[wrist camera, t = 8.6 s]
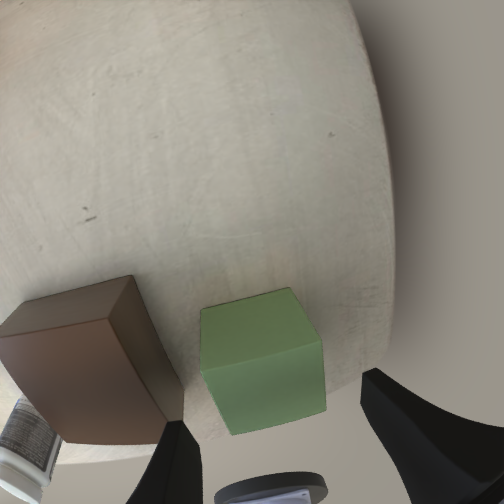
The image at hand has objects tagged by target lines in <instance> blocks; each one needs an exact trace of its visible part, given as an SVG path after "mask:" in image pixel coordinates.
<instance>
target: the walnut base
mask: <svg viewBox="0 0 504 504" xmlns="http://www.w3.org/2000/svg"><path fill="white" fill-rule="evenodd" d="M0 361H1V362H2V364H3V365H4V367H5V368H6V370H7V371H8V373H9V374H10V376H11V377H12V379H13V380H14V381H15V383H16V384H17V385H18V387H19V388H20V390H21V391H22V392H23V394H24V395H25V396H26V397H27V399H28V400H29V401H30V403H31V404H32V405H33V406H34V407H35V409H36V410H37V411H38V412H39V413H40V415H41V416H42V417H43V418H44V419H45V420H46V422H47V423H48V424H49V425H50V426H51V427H52V428H53V429H54V430H55V431H56V432H57V434H58V435H59V436H60V437H61V438H62V439H63V440H64V441H65V442H66V443H76V444H93V445H143V444H158V442H159V440H160V437H161V435H162V432H163V430H164V427H165V425H166V423H167V422H168V421H176V420H182V421H183V411H184V389H183V387H182V385H181V383H180V381H179V379H178V377H177V375H176V373H175V371H174V369H173V367H172V365H171V363H170V361H169V359H168V357H167V355H166V353H165V351H164V349H163V347H162V345H161V343H160V340H159V338H158V336H157V334H156V332H155V329H154V327H153V325H152V323H151V320H150V318H149V316H148V313H147V311H146V309H145V306H144V304H143V301H142V299H141V296H140V294H139V291H138V289H137V286H136V284H135V281H134V278H133V276H132V275H130V276H126V277H122V278H118V279H114V280H110V281H106V282H102V283H98V284H94V285H90V286H86V287H82V288H79V289H75V290H71V291H67V292H63V293H59V294H55V295H52V296H48V297H44V298H40V299H36V300H32V301H28V302H25V303H22V304H21V305H20V306H19V307H18V308H17V309H16V310H15V311H14V312H13V313H12V314H11V315H10V316H9V317H8V318H7V319H6V320H5V321H4V322H3V323H2V324H1V325H0Z"/></svg>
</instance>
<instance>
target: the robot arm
mask: <svg viewBox="0 0 504 504" xmlns="http://www.w3.org/2000/svg"><path fill="white" fill-rule="evenodd" d="M360 404H361V406H362V408H363V410H364V413H365V415H366V417H367V419H368V421H369V423H370V425H371V427H372V428H373V430H374V432H375V433H376V435H377V436H378V438H379V439H380V441H381V442H382V444H383V446H384V447H385V449H386V451H387V452H388V454H389V455H390V457H391V458H392V460H393V462H394V464H395V466H396V467H397V470H398V472H399V474H400V476H401V478H402V480H403V483H404V485H405V488H406V490H407V493H408V495H409V498H410V500H411V503H412V504H504V427H497V426H492V425H486V424H483V423H479V422H475V421H472V420H468V419H465V418H462V417H460V416H457V415H455V414H452V413H450V412H447V411H445V410H443V409H441V408H439V407H437V406H435V405H433V404H431V403H429V402H428V401H426V400H424V399H422V398H421V397H419V396H417V395H416V394H414V393H412V392H411V391H409V390H408V389H406V388H405V387H403V386H402V385H400V384H399V383H397V382H396V381H394V380H393V379H392V378H390V377H389V376H387V375H386V374H384V373H383V372H382V371H381V370H379V369H378V368H373V369H371V370H369V371H366V372H364V373H362V388H361V401H360ZM126 504H203V480H202V462H201V454H200V447H199V444H198V443H197V442H196V440H195V439H194V437H193V436H192V434H191V433H190V431H189V430H188V428H187V427H186V425H185V424H184V422H183V421H182V420H176V421H168V422H167V423H166V425H165V427H164V430H163V432H162V435H161V437H160V440H159V442H158V445H157V447H156V449H155V451H154V454H153V456H152V458H151V460H150V462H149V464H148V466H147V469H146V471H145V472H144V474H143V476H142V478H141V480H140V482H139V483H138V485H137V487H136V489H135V490H134V492H133V493H132V495H131V496H130V498H129V499H128V501H127V502H126ZM230 504H311V500H310V494H309V490H308V489H307V488H304V489H300V490H297V491H293V492H289V493H285V494H280V495H276V496H271V497H266V498H261V499H256V500H250V501H244V502H237V503H230Z"/></svg>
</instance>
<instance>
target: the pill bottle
mask: <svg viewBox="0 0 504 504" xmlns="http://www.w3.org/2000/svg"><path fill="white" fill-rule="evenodd" d="M62 441H63V439H62V438H61V437H60V436H59V435H58V434H57V432H56V431H55V430H54V429H53V428H52V427H51V426H50V425H49V424H48V423H47V422H46V420H45V419H44V418H43V417H42V416H41V415H40V413H39V412H38V411H37V410H36V409H35V407H34V406H33V405H32V404H31V403H30V401H29V400H28V399H27V397H26V396H25V395H24V396H21V397H20V398H19V399H18V401H17V403H16V405H15V407H14V409H13V411H12V413H11V415H10V417H9V419H8V421H7V423H6V425H5V427H4V429H3V431H2V433H1V435H0V486H1V487H2V488H4V489H5V490H7V491H8V492H10V493H11V494H13V495H14V496H16V497H18V498H20V499H22V500H24V501H26V502H28V503H31V504H40V501H41V497H42V492H43V491H42V489H41V487H47V486H48V485H49V484H50V482H51V478H52V474H53V470H54V467H55V463H56V460H57V457H58V454H59V450H60V447H61V444H62Z"/></svg>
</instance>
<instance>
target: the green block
mask: <svg viewBox="0 0 504 504" xmlns="http://www.w3.org/2000/svg"><path fill="white" fill-rule="evenodd" d="M200 372H201V374H202V377H203V379H204V381H205V383H206V385H207V387H208V390H209V392H210V394H211V396H212V398H213V400H214V402H215V404H216V406H217V408H218V410H219V412H220V414H221V416H222V418H223V420H224V422H225V424H226V426H227V428H228V430H229V432H230V434H231V435H237V434H242V433H247V432H251V431H255V430H261V429H264V428H269V427H273V426H277V425H281V424H285V423H288V422H292V421H295V420H299V419H302V418H306V417H309V416H312V415H315V414H318V413H321V412H324V411H326V391H325V375H324V361H323V349H322V340H321V338H320V337H319V335H318V333H317V332H316V330H315V328H314V327H313V325H312V323H311V321H310V320H309V318H308V316H307V315H306V313H305V311H304V310H303V308H302V306H301V305H300V303H299V301H298V300H297V298H296V296H295V295H294V293H293V291H292V290H291V288H285V289H282V290H278V291H274V292H270V293H266V294H263V295H259V296H255V297H251V298H247V299H243V300H239V301H235V302H231V303H227V304H222V305H218V306H214V307H210V308H206V309H202V310H201V325H200Z"/></svg>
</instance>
